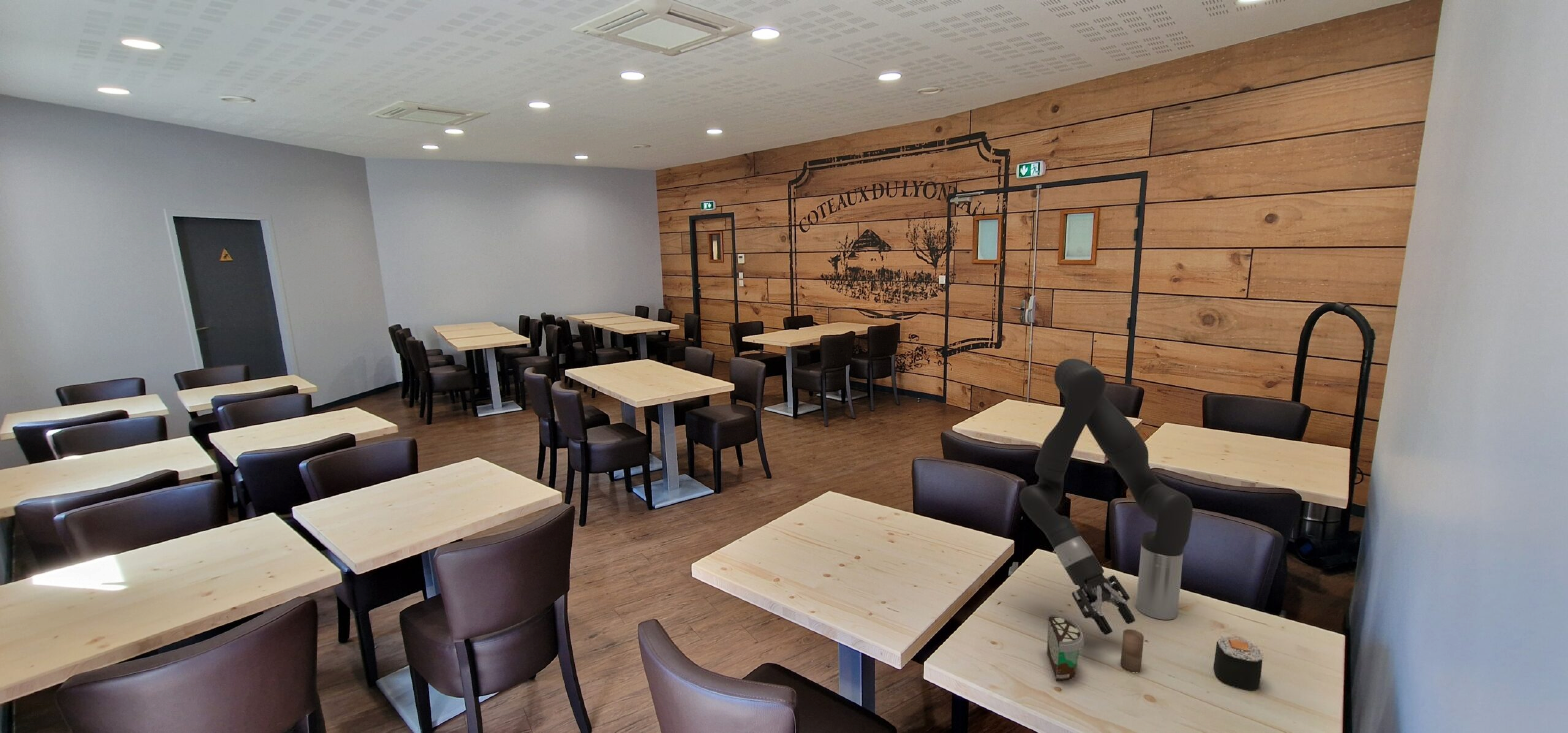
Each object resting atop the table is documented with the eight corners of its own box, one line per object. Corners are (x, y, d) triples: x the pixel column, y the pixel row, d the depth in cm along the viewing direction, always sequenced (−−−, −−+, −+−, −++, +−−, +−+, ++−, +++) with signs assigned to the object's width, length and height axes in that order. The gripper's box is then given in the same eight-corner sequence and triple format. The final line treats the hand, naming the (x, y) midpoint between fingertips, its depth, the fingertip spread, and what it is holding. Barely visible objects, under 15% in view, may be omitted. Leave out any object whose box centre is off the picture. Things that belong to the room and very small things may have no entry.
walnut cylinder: (1127, 659, 143) (1130, 627, 141) (1144, 669, 139) (1147, 636, 138) (1116, 665, 141) (1119, 632, 139) (1134, 675, 137) (1137, 641, 136)
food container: (1088, 689, 133) (1091, 646, 131) (1057, 685, 134) (1060, 643, 133) (1073, 654, 145) (1076, 614, 143) (1045, 651, 146) (1048, 611, 144)
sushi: (1217, 684, 134) (1221, 650, 133) (1210, 662, 141) (1214, 630, 140) (1264, 695, 131) (1268, 660, 129) (1254, 671, 138) (1258, 638, 137)
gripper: (1070, 561, 143) (1113, 632, 135) (1107, 547, 150) (1151, 614, 142) (1048, 573, 148) (1089, 642, 140) (1085, 559, 155) (1126, 624, 147)
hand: (1120, 628), depth 141 cm, fingers open, 8 cm apart
